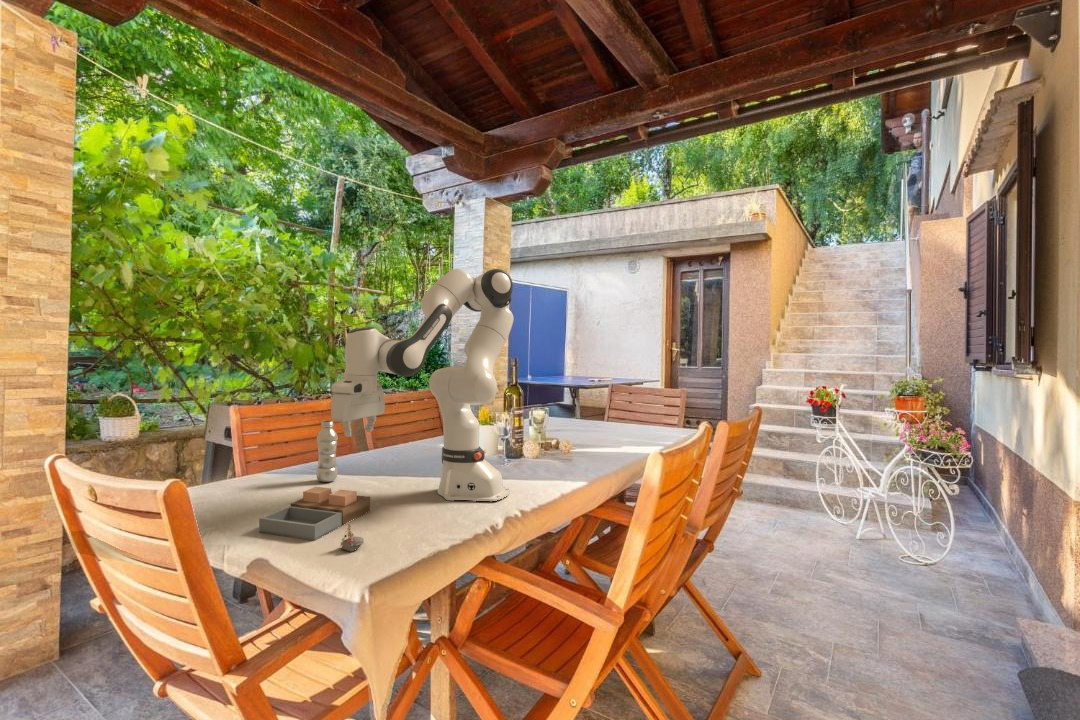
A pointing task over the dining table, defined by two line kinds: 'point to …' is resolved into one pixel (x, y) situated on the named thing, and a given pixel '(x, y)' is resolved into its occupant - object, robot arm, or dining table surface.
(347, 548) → the figurine
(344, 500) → the tile
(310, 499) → the tile
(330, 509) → the brown wooden platform
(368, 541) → the dining table surface
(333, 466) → the plastic bottle
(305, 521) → the box
